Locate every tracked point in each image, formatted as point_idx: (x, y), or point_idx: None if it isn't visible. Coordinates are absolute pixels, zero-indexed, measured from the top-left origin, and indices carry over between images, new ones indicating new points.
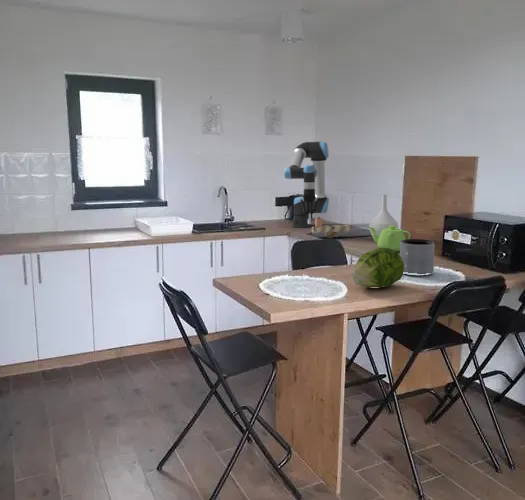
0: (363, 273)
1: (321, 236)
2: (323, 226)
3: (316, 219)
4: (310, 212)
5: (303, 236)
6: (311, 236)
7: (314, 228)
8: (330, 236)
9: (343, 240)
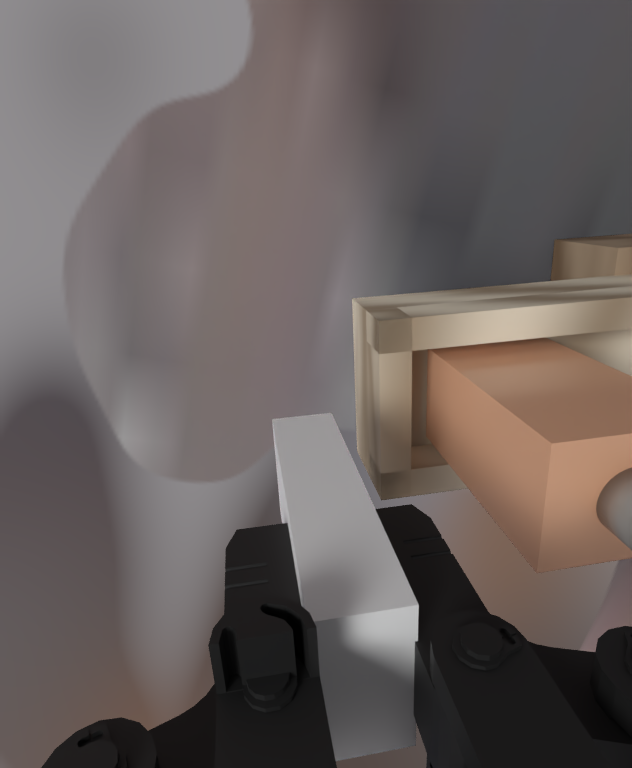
0: None
1: (497, 232)
2: (621, 326)
3: (528, 550)
4: (456, 748)
5: (207, 159)
6: (345, 194)
7: (380, 491)
8: None
9: (625, 560)
